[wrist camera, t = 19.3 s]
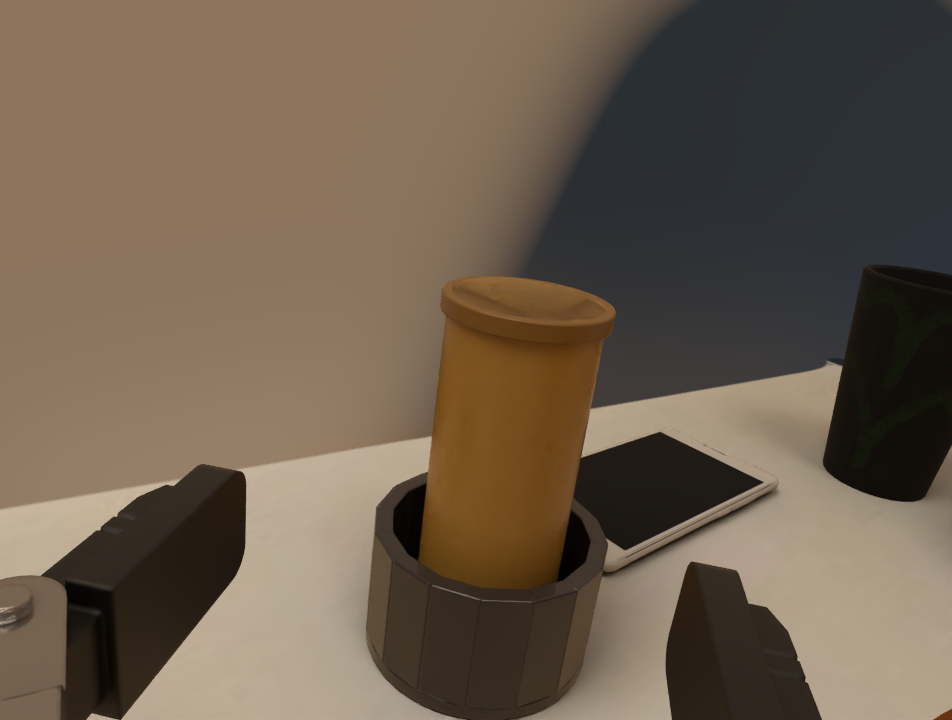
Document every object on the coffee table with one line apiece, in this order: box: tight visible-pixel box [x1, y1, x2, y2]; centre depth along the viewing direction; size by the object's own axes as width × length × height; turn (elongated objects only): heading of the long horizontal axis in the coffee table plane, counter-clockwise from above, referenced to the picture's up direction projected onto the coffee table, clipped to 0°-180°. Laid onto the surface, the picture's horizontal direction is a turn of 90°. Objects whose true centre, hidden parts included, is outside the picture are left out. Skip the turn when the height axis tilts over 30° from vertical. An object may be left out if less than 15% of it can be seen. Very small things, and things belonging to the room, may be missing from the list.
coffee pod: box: [418, 276, 616, 589], centre depth 23 cm, size 5×5×12 cm
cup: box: [823, 265, 952, 501], centre depth 40 cm, size 8×8×12 cm
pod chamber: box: [366, 472, 608, 720], centre depth 24 cm, size 8×8×4 cm
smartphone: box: [573, 428, 778, 572], centre depth 36 cm, size 8×1×15 cm
